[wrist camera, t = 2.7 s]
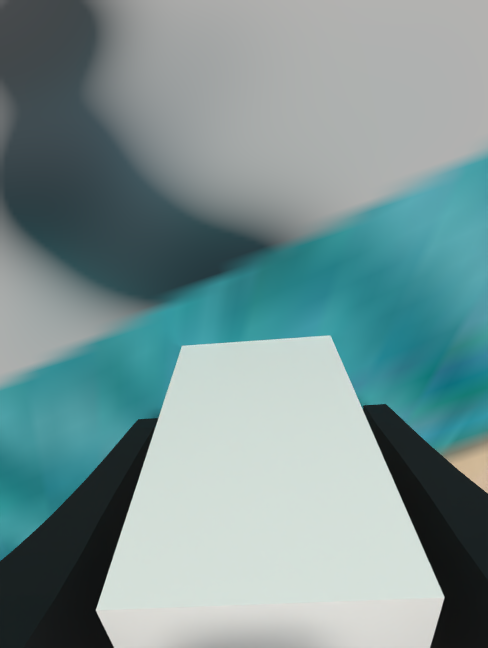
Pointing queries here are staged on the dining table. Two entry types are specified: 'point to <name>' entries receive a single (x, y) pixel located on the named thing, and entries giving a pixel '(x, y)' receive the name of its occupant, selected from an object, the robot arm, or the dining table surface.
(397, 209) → the dining table surface
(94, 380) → the dining table surface
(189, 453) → the cream block
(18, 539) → the dining table surface
